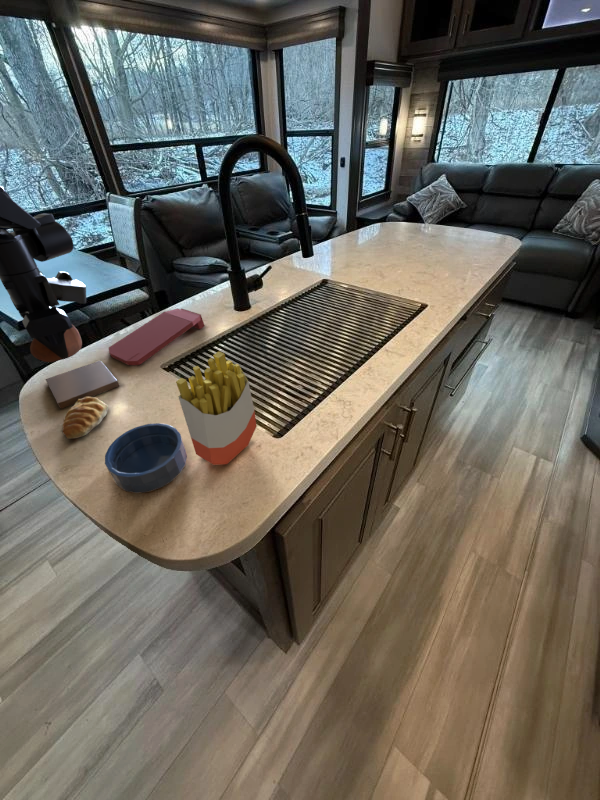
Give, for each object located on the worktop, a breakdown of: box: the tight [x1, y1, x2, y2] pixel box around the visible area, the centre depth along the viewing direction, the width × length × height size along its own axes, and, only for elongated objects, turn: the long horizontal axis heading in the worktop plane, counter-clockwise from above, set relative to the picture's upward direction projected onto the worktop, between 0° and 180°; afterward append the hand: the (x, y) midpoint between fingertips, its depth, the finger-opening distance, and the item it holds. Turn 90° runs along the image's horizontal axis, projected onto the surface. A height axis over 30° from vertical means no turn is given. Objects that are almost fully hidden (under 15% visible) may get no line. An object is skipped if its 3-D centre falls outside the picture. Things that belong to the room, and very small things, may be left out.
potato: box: [29, 324, 83, 363], centre depth 64 cm, size 7×9×6 cm
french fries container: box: [175, 350, 258, 466], centre depth 54 cm, size 5×11×18 cm, turn 146°
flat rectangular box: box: [45, 359, 120, 409], centre depth 76 cm, size 12×12×2 cm
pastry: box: [62, 396, 109, 440], centre depth 64 cm, size 9×7×4 cm
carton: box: [108, 308, 206, 366], centre depth 92 cm, size 12×5×25 cm
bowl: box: [104, 422, 188, 494], centre depth 56 cm, size 12×12×4 cm
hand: (61, 350), depth 65 cm, fingers closed on potato, 7 cm apart
